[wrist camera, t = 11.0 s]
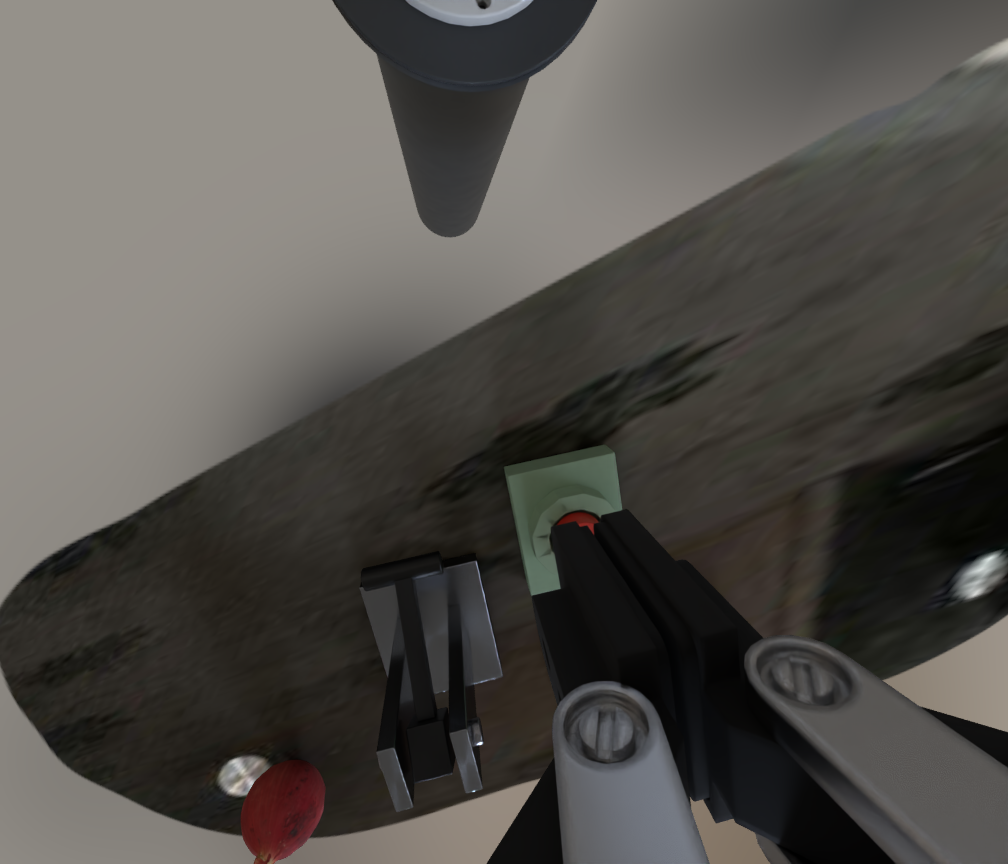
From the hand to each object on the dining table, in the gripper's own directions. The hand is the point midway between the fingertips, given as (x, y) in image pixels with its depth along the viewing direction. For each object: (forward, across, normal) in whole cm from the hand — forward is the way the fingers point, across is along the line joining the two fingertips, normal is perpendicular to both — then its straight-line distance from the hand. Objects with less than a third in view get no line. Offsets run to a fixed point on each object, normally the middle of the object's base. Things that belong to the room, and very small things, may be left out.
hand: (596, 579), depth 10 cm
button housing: (+25, -4, +11) cm, 28 cm away
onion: (+25, +22, +28) cm, 44 cm away
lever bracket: (+25, +8, +18) cm, 32 cm away
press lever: (+17, +8, +15) cm, 24 cm away
